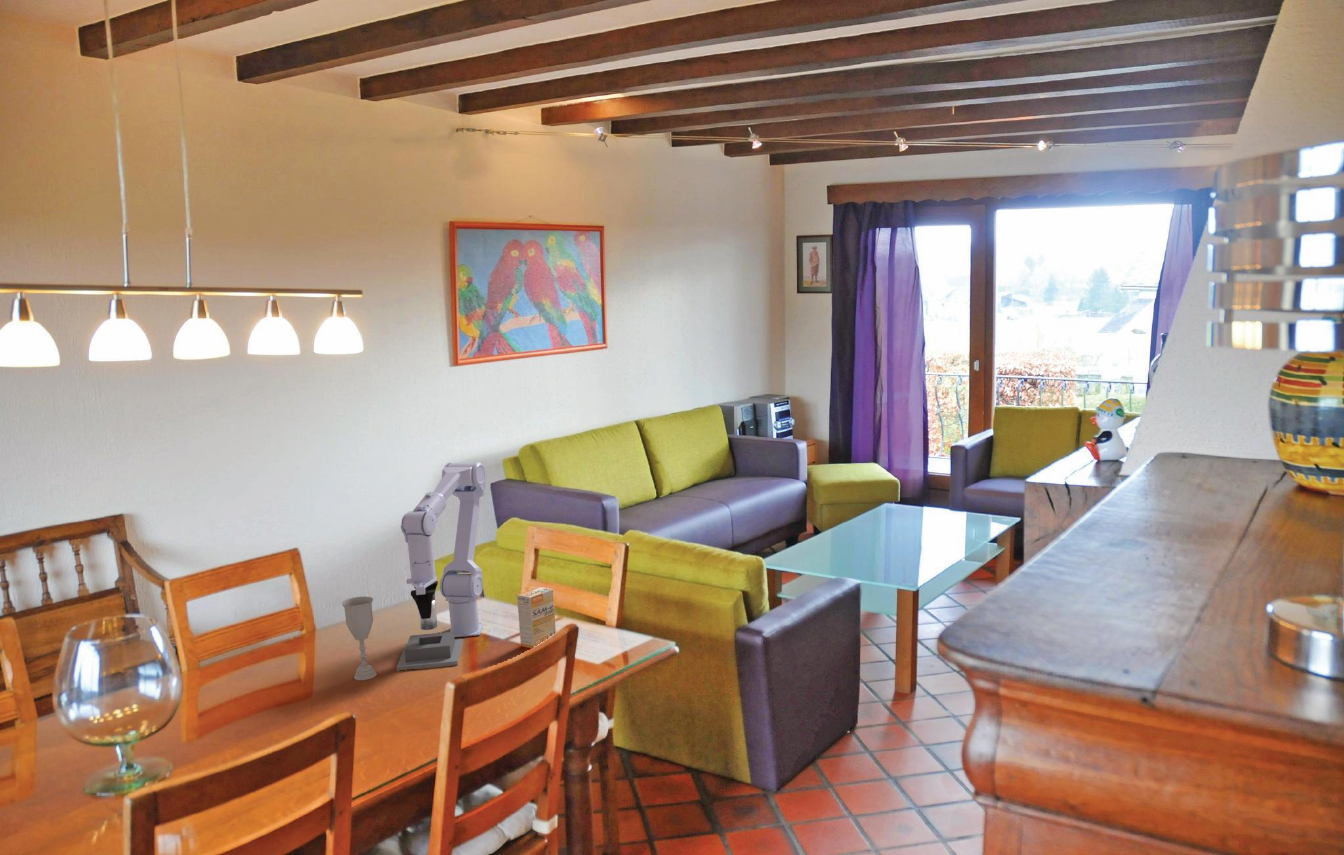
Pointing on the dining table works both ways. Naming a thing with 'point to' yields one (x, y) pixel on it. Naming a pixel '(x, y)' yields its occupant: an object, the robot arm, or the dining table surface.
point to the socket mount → (430, 651)
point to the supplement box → (536, 616)
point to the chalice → (360, 629)
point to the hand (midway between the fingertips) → (427, 615)
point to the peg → (431, 622)
